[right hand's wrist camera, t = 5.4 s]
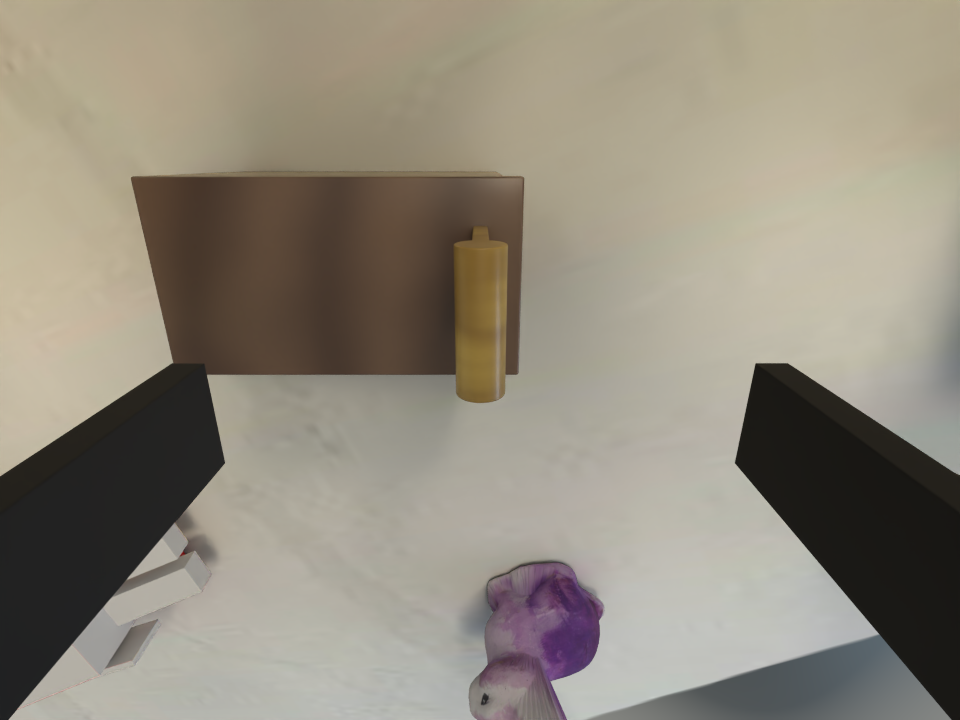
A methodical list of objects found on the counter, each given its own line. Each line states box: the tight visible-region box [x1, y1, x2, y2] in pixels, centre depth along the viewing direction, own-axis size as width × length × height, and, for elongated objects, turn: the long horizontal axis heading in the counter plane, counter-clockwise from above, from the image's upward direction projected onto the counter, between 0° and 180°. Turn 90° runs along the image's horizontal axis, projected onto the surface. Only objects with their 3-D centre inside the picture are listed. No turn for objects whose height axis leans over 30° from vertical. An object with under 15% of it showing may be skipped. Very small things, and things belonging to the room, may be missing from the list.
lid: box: [131, 176, 524, 403], centre depth 23 cm, size 18×10×9 cm, turn 90°
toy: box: [18, 523, 211, 709], centre depth 43 cm, size 12×13×30 cm
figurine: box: [469, 562, 605, 720], centre depth 42 cm, size 9×10×15 cm
